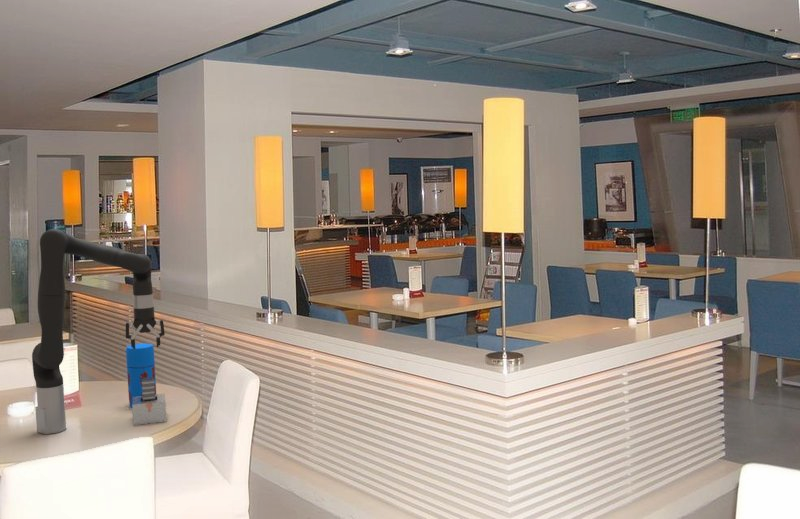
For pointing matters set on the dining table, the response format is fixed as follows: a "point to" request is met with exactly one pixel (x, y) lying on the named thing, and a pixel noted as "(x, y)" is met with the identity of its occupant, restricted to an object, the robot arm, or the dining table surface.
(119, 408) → the dining table surface
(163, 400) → the housing
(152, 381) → the column
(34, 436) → the dining table surface
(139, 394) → the thermos
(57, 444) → the dining table surface
